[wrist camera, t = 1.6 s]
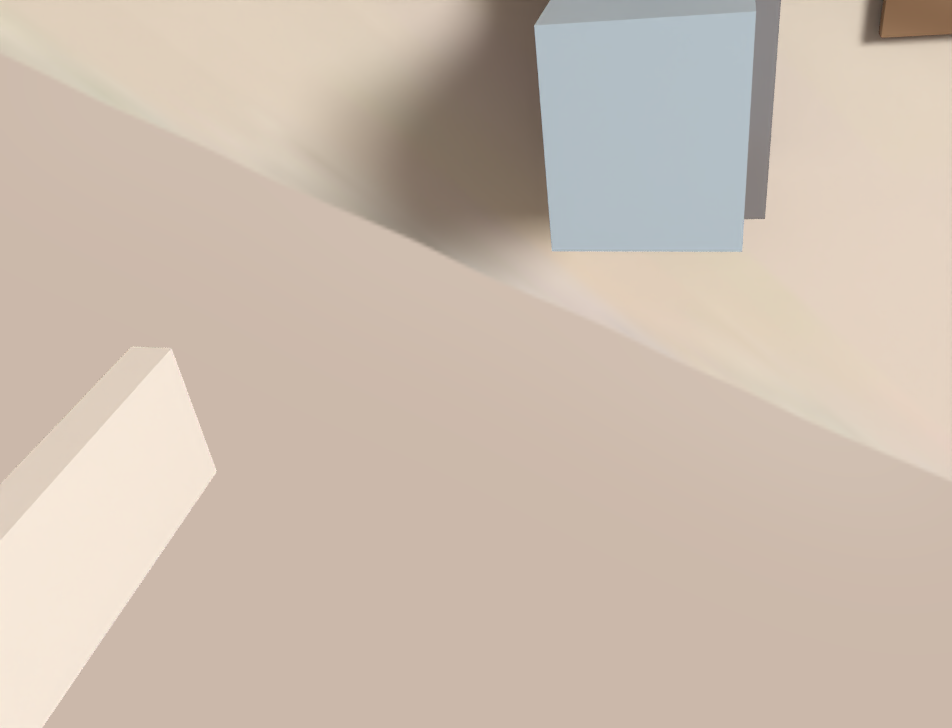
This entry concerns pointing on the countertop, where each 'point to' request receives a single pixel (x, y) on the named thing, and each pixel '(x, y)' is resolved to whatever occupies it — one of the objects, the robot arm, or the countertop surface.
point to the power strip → (761, 106)
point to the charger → (646, 122)
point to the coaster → (915, 18)
